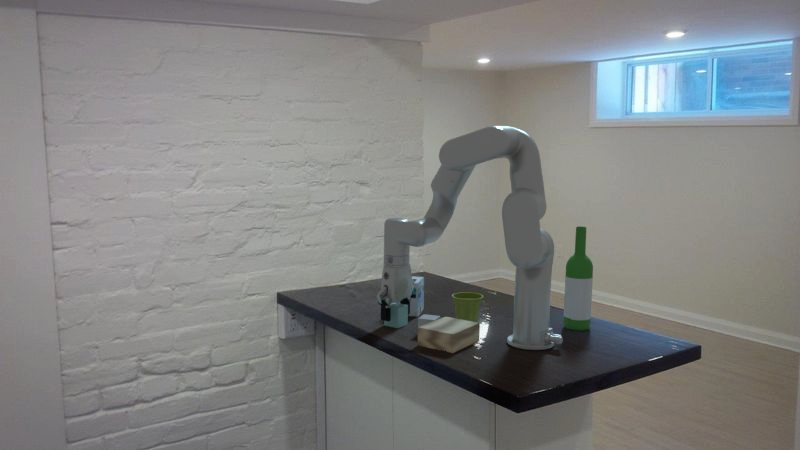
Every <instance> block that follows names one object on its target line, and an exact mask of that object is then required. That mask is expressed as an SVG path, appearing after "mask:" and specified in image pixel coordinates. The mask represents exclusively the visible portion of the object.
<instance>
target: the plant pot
mask: <svg viewBox="0 0 800 450" xmlns="http://www.w3.org/2000/svg"><path fill="white" fill-rule="evenodd" d="M451 298H452V300H453V303H454V310H455V318H456V319H461V320H467V321H472V322H477V323H479V322H478V320H479V316H480V314H479V313H480V307H481V303H482V300H483V298H484V295H483V294H481V293H477V292H468V291H467V292H465V291H464V292H455V293H453V294H451Z"/></svg>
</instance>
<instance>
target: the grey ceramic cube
mask: <svg viewBox="0 0 800 450" xmlns="http://www.w3.org/2000/svg"><path fill="white" fill-rule="evenodd" d="M440 318H441V315H434V314H424V313H423V314H422V315H421V316H420V317H419V316H418V318H417V328H418V327H420V326H422V325H425V324H427V323H430V322H433V321H435V320H438V319H440Z"/></svg>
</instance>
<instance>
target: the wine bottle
mask: <svg viewBox="0 0 800 450" xmlns="http://www.w3.org/2000/svg"><path fill="white" fill-rule="evenodd" d="M574 241H575V242H574V243H575V244H574V254H573V255H570V257H569V258H568V259H567V261H566V265H565V276H564V277H565V278H564V279H565V280H564V295H563V297H564V298H563V299H564V300H563V321H562V322H563V326H564V328H565V329H567V330H571V331H577V332H581V331H582V332H583V331H588V330H589V329H590V328H591V321H592V320H591V318H592V303H593V301H592V300H593V299H592V298H593V278H594V277H593V276H594V275H593V274H594V264H593V262H592V260H591V258H590V257H589V256H588V255H587V254H586V252H587V251H586V248H587V245H586V244H587V227H586V226H576V227H575V239H574Z"/></svg>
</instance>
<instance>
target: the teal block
mask: <svg viewBox="0 0 800 450" xmlns="http://www.w3.org/2000/svg"><path fill="white" fill-rule="evenodd" d="M389 308H391V320H390V321H389V322H388V321H383V323H384V324H383V325H384V327H390V328H395V329H400V328H402V327H406V326H408V325H409V320H408V319H409V316H408V305H405V304H400V303H398V302H391V304H390V307H389Z"/></svg>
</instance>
